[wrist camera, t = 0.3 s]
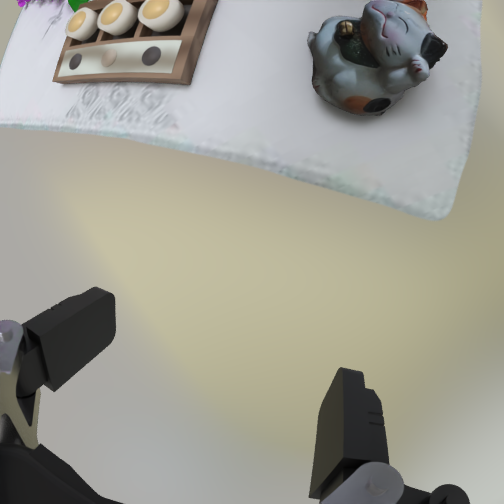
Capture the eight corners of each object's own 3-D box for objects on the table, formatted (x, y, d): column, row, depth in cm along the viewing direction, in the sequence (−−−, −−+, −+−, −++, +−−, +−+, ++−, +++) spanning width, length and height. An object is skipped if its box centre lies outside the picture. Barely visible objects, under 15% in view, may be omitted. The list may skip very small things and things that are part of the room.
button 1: (83, 15, 31) (71, 10, 28) (105, 10, 31) (93, 4, 28) (72, 42, 33) (60, 38, 30) (94, 38, 32) (81, 33, 29)
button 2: (156, 2, 29) (145, -7, 26) (189, -1, 28) (180, -11, 25) (144, 32, 31) (132, 25, 28) (177, 31, 30) (166, 22, 27)
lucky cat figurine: (306, 17, 29) (354, -52, 15) (384, 49, 31) (444, 0, 18) (300, 106, 29) (370, 33, 15) (390, 137, 31) (475, 99, 18)
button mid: (115, 8, 30) (104, 1, 27) (143, 4, 29) (132, -5, 27) (104, 37, 32) (91, 31, 29) (131, 34, 31) (118, 27, 28)
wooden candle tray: (89, 9, 34) (79, 3, 31) (220, -8, 30) (213, -18, 27) (63, 83, 39) (51, 81, 36) (189, 85, 35) (179, 78, 32)
